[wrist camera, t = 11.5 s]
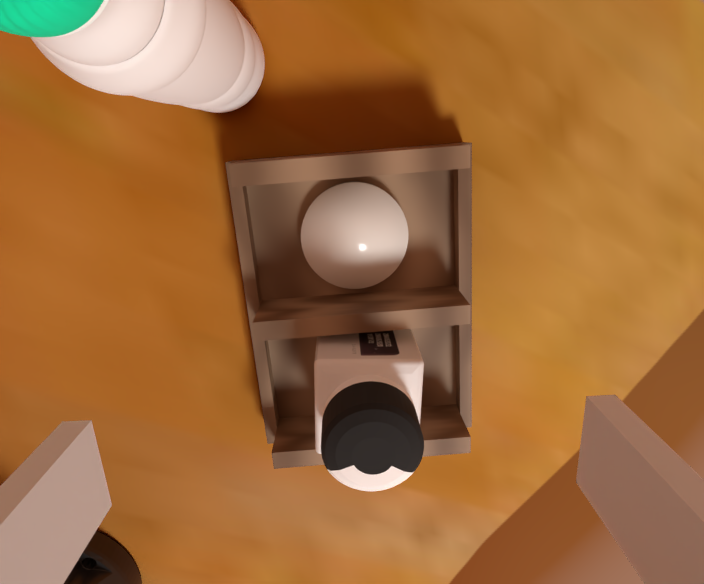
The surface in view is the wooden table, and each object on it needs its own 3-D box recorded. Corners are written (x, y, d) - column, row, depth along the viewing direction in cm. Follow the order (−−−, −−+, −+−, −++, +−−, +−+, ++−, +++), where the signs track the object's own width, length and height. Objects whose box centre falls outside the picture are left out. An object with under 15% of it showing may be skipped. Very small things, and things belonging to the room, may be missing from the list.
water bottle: (210, 132, 37) (-16, 127, 13) (148, 47, 35) (-245, -136, 11) (285, 76, 36) (185, -37, 12) (225, -15, 34) (-31, -357, 10)
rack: (271, 427, 45) (261, 469, 39) (232, 160, 38) (213, 165, 32) (464, 411, 45) (482, 451, 40) (463, 142, 38) (485, 143, 32)
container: (318, 320, 41) (309, 400, 29) (409, 320, 41) (440, 400, 29) (319, 401, 43) (311, 508, 31) (405, 401, 44) (432, 507, 31)
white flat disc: (306, 288, 40) (305, 292, 39) (296, 184, 38) (295, 186, 37) (408, 281, 40) (409, 285, 39) (405, 177, 38) (406, 179, 37)
